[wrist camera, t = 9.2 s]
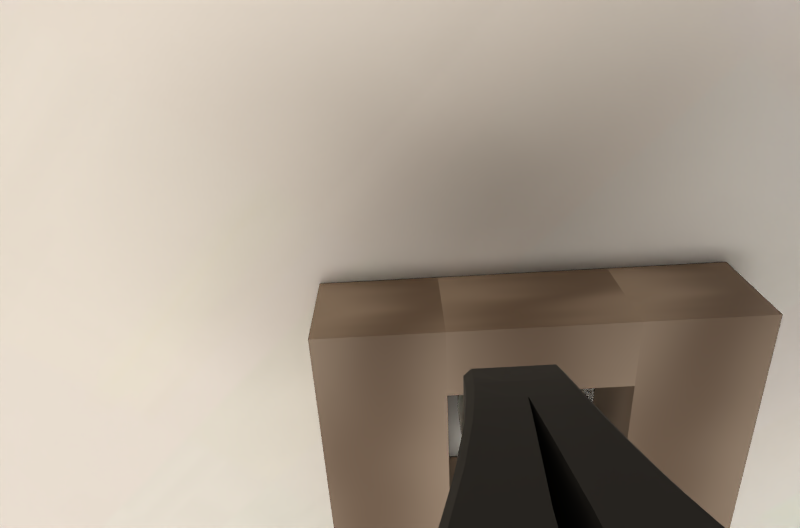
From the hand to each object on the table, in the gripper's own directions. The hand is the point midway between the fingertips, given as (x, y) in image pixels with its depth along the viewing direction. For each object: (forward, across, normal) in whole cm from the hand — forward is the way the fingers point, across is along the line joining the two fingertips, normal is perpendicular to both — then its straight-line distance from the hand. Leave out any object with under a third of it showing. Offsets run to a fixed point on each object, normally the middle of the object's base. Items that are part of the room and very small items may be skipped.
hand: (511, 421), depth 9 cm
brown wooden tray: (+9, -2, +12) cm, 15 cm away
